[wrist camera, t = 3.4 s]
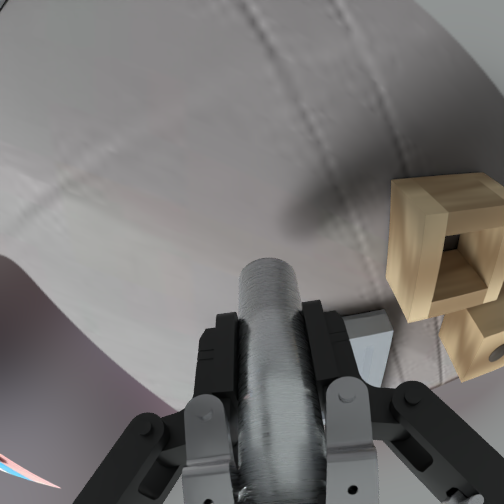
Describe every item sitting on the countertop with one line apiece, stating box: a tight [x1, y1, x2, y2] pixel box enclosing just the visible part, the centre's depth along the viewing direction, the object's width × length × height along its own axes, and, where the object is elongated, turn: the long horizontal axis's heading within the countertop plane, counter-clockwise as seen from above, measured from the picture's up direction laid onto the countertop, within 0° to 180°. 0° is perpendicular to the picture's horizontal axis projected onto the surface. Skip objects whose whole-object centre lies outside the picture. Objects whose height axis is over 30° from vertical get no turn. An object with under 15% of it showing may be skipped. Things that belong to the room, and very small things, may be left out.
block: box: [438, 281, 504, 382], centre depth 19 cm, size 5×5×5 cm
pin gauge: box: [238, 258, 326, 504], centre depth 11 cm, size 3×3×10 cm
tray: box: [322, 309, 394, 425], centre depth 23 cm, size 12×12×2 cm
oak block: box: [386, 173, 504, 323], centre depth 15 cm, size 6×6×4 cm
